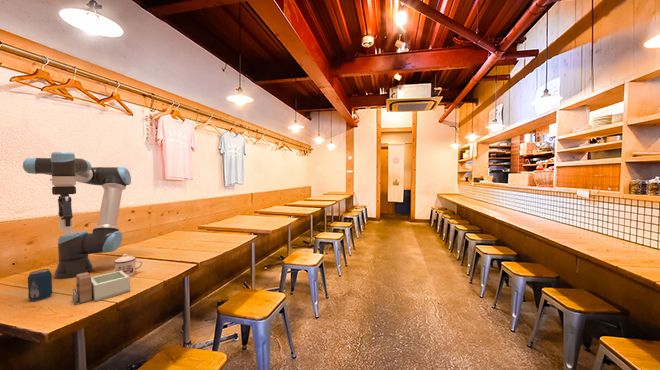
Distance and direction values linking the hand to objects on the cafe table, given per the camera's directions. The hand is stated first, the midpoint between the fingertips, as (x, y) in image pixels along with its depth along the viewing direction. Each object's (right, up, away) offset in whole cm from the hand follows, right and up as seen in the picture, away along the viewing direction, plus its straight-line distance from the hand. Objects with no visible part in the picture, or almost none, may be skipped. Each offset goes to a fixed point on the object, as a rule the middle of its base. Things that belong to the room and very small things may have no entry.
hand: (65, 232), depth 114 cm
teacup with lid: (+10, -28, +23) cm, 38 cm away
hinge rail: (+13, -29, -5) cm, 32 cm away
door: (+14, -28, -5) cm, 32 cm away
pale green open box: (+19, -28, +2) cm, 34 cm away
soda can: (-8, -29, -3) cm, 30 cm away
